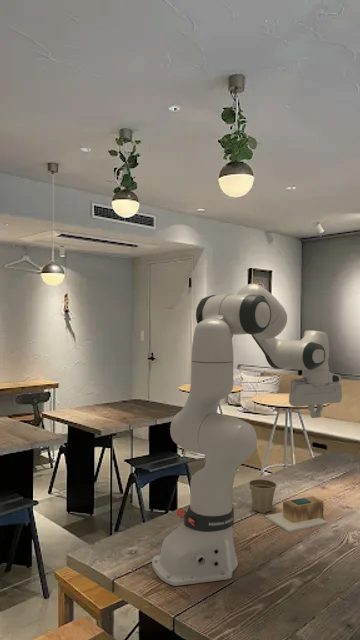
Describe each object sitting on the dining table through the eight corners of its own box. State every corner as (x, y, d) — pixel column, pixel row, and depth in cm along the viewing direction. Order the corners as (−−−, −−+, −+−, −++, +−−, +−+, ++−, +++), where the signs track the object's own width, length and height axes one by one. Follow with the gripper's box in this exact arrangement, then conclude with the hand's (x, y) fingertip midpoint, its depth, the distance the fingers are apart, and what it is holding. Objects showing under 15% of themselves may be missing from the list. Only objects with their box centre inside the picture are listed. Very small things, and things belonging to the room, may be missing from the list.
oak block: (323, 516, 155) (293, 523, 150) (313, 511, 160) (283, 517, 155) (323, 500, 155) (293, 506, 150) (313, 495, 160) (283, 500, 155)
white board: (288, 532, 145) (288, 530, 145) (265, 517, 156) (265, 515, 156) (327, 523, 151) (327, 521, 151) (302, 509, 162) (302, 508, 162)
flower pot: (267, 502, 169) (268, 477, 169) (281, 513, 160) (282, 486, 160) (243, 505, 166) (243, 480, 166) (256, 516, 157) (256, 489, 157)
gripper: (296, 380, 158) (296, 422, 158) (344, 376, 167) (344, 416, 167) (285, 377, 164) (285, 418, 164) (332, 374, 172) (332, 413, 173)
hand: (315, 417), depth 166 cm, fingers closed
